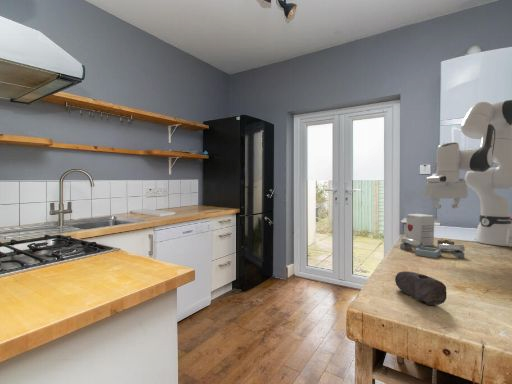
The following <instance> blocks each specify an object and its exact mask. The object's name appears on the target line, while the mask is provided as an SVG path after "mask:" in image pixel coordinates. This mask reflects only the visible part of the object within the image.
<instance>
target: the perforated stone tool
mask: <svg viewBox="0 0 512 384" xmlns="http://www.w3.org/2000/svg"><path fill="white" fill-rule="evenodd" d="M394 281H395V284H396V286H397V287H398V289H399V290H400V291H401V292H402V293H405V294H407V295H408V296H409V297H410V296H411V297H410V298H413V299H414V300H415V301H418V300H419V302H420V301H421V302H425V303H426V304H427V305H429V306H434V305H436V306H439V305H441V304H444V303H445V302H446V300H447V296H448V295H447V294H448V293H447V286H446V285H445V284H444V282H442V281H439V280H437V279H435V278H433V277H431V276H428V275H425V274H421V273H418V272H413V271H406V270H405V271H400V272H397V274H396V275H395V278H394Z"/></svg>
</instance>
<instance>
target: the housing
mask: <svg viewBox="0 0 512 384" xmlns="http://www.w3.org/2000/svg"><path fill="white" fill-rule="evenodd" d="M441 252H442V251H441V250H438V248H436V247H429V246H428V247H427V246H422V247H416V248H415V249H414V255H416V256H422V257H428V258H432V259H436V258H437V259H438V257H439V256H441V254H442V253H441Z"/></svg>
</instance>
